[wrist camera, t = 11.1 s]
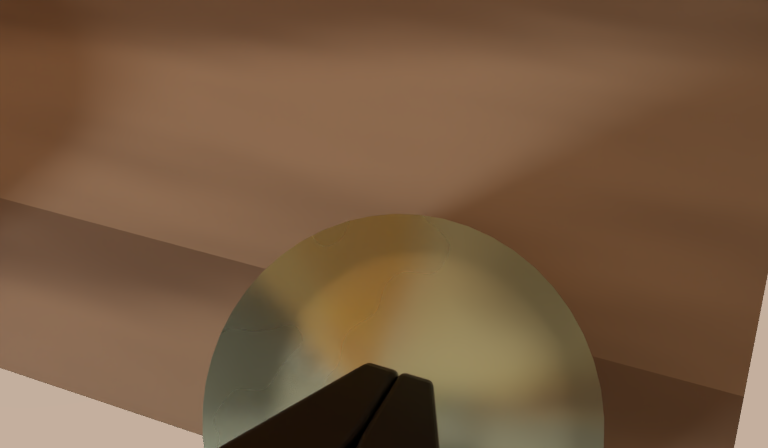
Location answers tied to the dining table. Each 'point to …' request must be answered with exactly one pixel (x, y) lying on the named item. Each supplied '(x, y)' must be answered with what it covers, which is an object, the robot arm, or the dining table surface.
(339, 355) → the knob sage
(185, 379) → the block
